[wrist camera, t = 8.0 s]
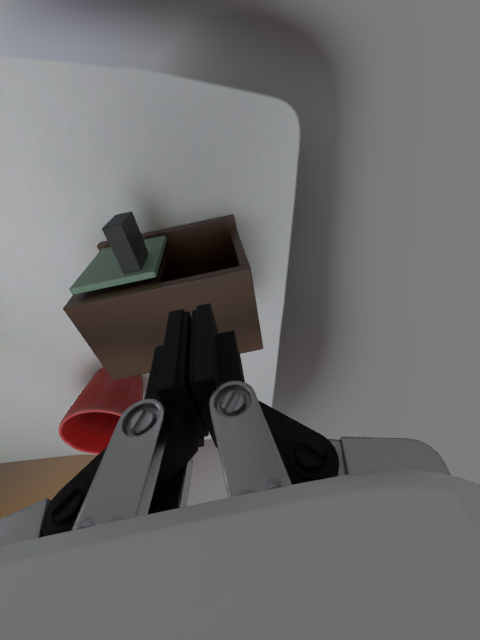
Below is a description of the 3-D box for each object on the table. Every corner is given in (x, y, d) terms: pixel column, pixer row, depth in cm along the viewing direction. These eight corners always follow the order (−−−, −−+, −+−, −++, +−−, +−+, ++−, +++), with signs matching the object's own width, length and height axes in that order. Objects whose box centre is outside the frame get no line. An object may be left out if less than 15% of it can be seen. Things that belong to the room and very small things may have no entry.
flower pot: (71, 386, 44) (43, 443, 36) (104, 347, 40) (80, 401, 32) (129, 408, 49) (116, 462, 41) (164, 375, 45) (156, 428, 37)
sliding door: (83, 212, 27) (39, 244, 20) (152, 197, 27) (134, 223, 20) (104, 253, 30) (72, 295, 23) (167, 239, 30) (156, 277, 23)
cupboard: (99, 242, 31) (53, 295, 21) (233, 214, 31) (248, 254, 21) (135, 314, 37) (113, 380, 27) (246, 291, 37) (263, 349, 27)
